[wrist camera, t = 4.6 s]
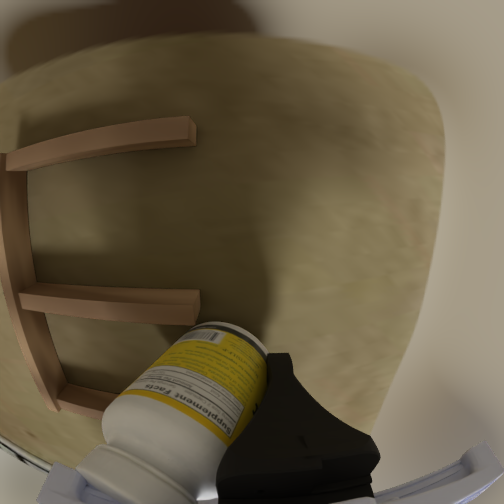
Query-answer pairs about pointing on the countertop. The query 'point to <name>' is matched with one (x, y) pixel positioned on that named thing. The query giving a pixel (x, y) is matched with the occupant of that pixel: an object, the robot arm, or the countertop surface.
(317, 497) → the robot arm
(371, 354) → the countertop surface
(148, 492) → the supplement bottle
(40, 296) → the rack
